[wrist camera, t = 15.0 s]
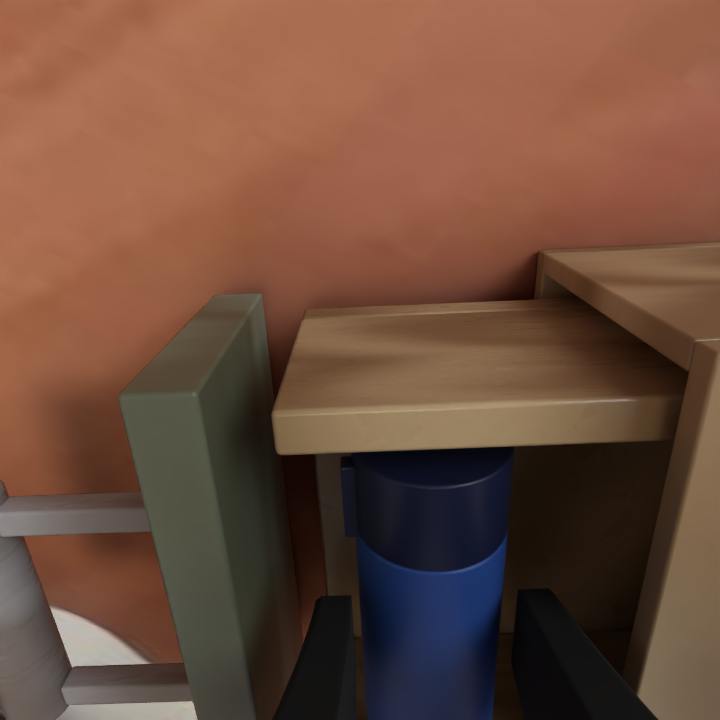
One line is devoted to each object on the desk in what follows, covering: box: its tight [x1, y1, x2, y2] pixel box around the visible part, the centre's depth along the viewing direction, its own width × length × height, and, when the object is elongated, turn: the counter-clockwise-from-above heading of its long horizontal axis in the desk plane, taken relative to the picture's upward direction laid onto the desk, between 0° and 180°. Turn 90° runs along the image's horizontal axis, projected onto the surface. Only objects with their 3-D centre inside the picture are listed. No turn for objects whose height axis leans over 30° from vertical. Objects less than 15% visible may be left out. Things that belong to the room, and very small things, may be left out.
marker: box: [340, 446, 515, 720], centre depth 11 cm, size 8×3×3 cm, turn 2°
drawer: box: [0, 293, 689, 720], centre depth 12 cm, size 18×12×6 cm, turn 92°
